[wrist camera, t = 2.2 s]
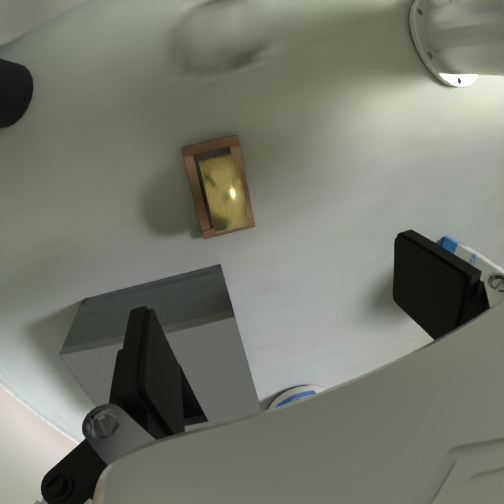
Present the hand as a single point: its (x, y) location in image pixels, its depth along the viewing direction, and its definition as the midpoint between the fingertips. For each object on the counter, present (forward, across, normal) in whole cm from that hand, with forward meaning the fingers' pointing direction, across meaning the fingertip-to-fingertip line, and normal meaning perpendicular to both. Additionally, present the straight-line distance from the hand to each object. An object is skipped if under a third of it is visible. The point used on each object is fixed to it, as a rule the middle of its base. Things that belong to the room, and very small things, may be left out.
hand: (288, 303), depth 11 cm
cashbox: (+19, +9, +14) cm, 25 cm away
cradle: (+19, 0, -1) cm, 19 cm away
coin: (+19, 0, -1) cm, 19 cm away
